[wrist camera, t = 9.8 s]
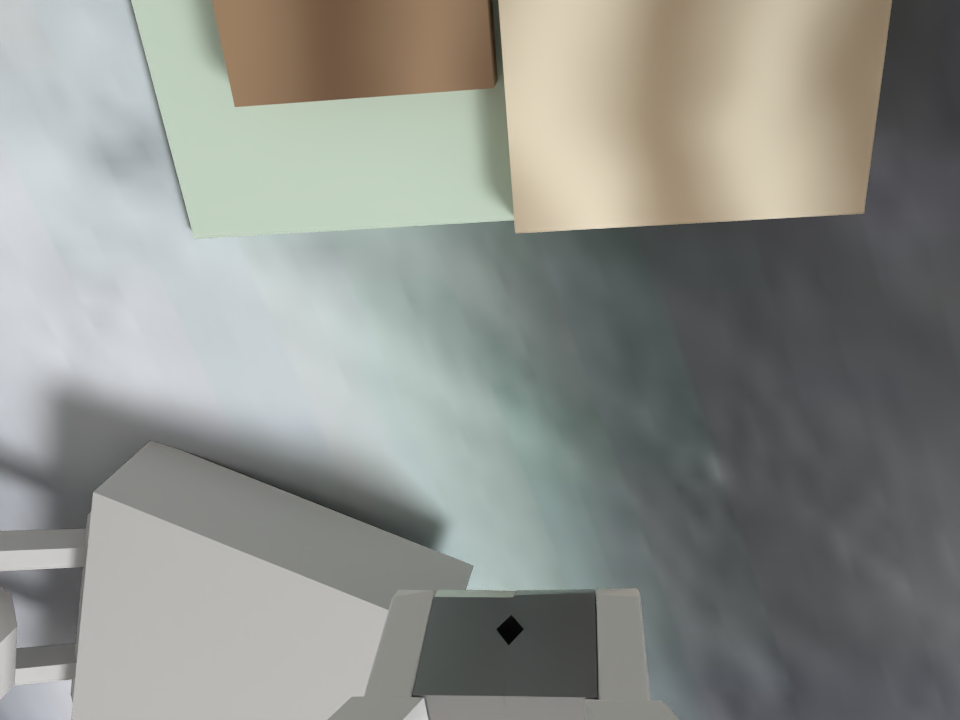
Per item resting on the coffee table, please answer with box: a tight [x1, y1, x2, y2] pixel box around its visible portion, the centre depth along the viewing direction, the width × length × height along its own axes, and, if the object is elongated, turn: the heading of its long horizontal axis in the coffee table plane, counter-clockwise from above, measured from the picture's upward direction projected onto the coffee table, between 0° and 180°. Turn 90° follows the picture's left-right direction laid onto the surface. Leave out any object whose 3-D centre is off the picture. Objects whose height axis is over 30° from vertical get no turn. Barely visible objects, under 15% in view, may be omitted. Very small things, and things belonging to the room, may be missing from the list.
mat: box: [131, 0, 514, 239], centre depth 27 cm, size 13×16×1 cm
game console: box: [0, 440, 473, 720], centre depth 36 cm, size 20×32×13 cm, turn 73°
